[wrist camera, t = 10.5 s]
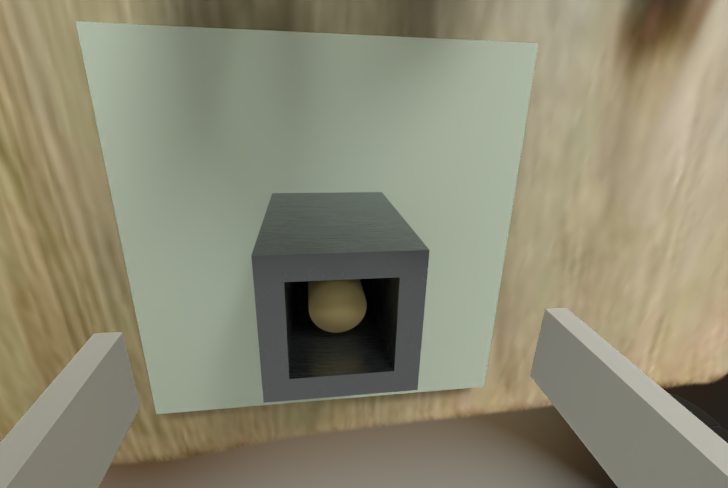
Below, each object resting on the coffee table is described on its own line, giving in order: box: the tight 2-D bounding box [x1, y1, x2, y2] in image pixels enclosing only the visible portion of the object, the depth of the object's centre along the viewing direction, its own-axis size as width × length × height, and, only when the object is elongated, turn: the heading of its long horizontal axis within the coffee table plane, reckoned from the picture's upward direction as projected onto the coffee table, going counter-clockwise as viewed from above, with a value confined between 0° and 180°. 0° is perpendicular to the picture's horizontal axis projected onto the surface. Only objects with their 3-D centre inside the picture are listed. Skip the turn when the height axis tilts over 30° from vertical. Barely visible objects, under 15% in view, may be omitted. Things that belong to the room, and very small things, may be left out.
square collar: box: [251, 192, 430, 403], centre depth 19 cm, size 12×6×9 cm, turn 179°
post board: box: [76, 21, 538, 414], centre depth 20 cm, size 22×22×8 cm
